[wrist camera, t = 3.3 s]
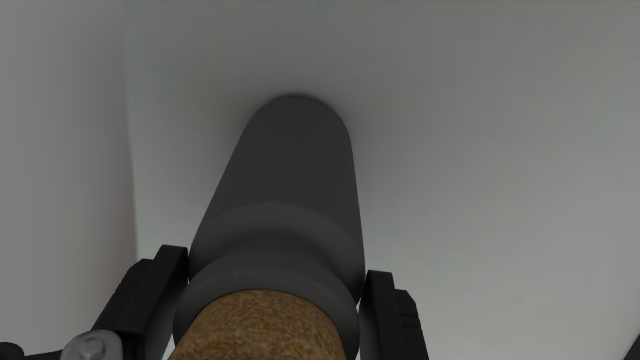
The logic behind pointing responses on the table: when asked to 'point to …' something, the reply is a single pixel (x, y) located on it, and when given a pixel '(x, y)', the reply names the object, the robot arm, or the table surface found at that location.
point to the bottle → (278, 246)
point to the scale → (634, 351)
